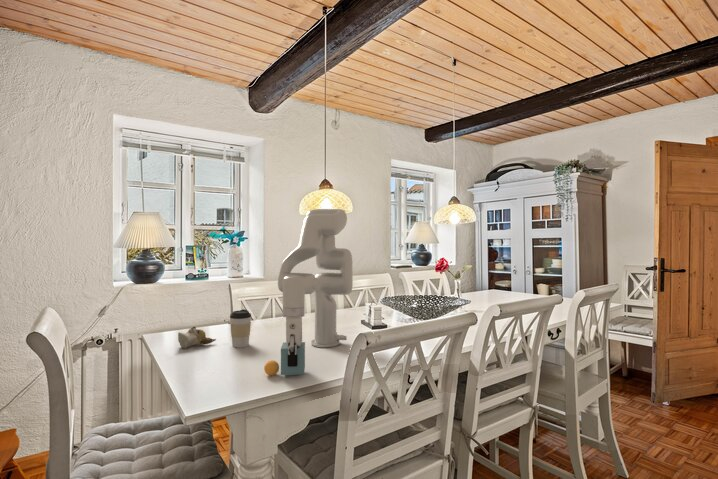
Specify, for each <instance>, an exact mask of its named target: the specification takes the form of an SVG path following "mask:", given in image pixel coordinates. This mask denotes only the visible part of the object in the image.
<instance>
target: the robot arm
mask: <svg viewBox="0 0 718 479" xmlns="http://www.w3.org/2000/svg"><path fill="white" fill-rule="evenodd" d="M347 221H348V217H347V213H346V211H345V210H344V209H341V208H317V209H316V208H314V209H310V210H308V211H307V212H306V215H305V217H304V219H303V222H302V226H301V231H300V236H299V239H298V245H297V247H295V249H294V250H292V251H291V252H290V253H289V254H288V255H287V256H286V257H285V258H284V260H283V261H282V264H281V266H280V269H279V272H278V278H277V288H278V290H279V291H280V292H281V293H282V317H283V318H285V338H286V339H285V342H286V344H287V346H288V367H296V366H297V346H299V347H300V346H301V344H302V342H303V317H305V315H306V314H305V306H306V305H305V304H306V303H305V298H306V297H305V295H311V294H313V293H314V339H312V340H310V341H311V342H310V343H311V345H312V346H313V347H314V348H315V347H317V348H333V347H337V346H339V345H340V343H341V342H340V341H347V335H345V334H338V332H337V302H336V300H335V298H334V297H333V296H334V295H335V296H337V295H338V296H339V295H341V296H348V295H350V294H351V293H352V290H353V283H354V282H353V278H354V277H353V255H352V253H351V250H349V249H348V248H343V247H342V248H340V247H339V248H338V247H336V236H337V235H339V234H340V233H341V232H342V231H343V230H344V229H345V227H346V225H347V223H348V222H347ZM314 257H315V261H316V267H317V268H318V269H319V270H324V271H327V270H329V271H340V272H319V273H317V274H315V275H314V274H312V273H309V272H307V273H304V272H292V271H293V269H294V268H295V267H296V266H297V265H299V264H300V263H302V262H305V261H306V260H307V261H308V260H309V259H312V258H314ZM332 295H333V296H332ZM294 344H296V345H294Z"/></svg>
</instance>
